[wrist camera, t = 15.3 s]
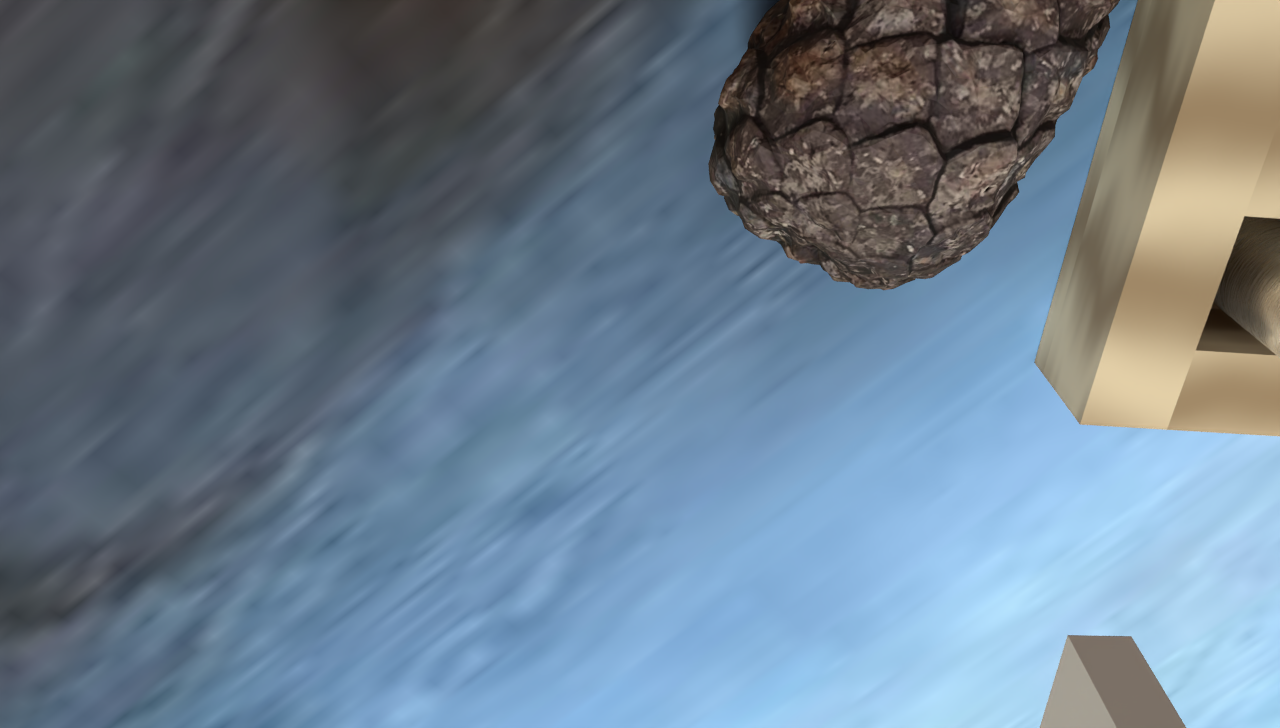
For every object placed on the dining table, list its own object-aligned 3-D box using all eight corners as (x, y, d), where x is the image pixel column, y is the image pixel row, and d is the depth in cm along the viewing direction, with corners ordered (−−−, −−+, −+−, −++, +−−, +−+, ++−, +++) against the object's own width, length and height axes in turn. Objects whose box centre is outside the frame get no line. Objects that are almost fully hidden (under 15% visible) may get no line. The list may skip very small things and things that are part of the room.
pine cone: (1180, -171, 36) (1365, -159, 27) (881, 267, 43) (950, 390, 34) (924, -347, 33) (1035, -396, 25) (652, 150, 41) (663, 250, 32)
